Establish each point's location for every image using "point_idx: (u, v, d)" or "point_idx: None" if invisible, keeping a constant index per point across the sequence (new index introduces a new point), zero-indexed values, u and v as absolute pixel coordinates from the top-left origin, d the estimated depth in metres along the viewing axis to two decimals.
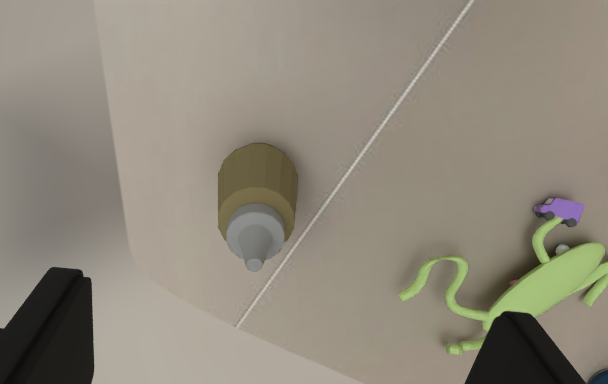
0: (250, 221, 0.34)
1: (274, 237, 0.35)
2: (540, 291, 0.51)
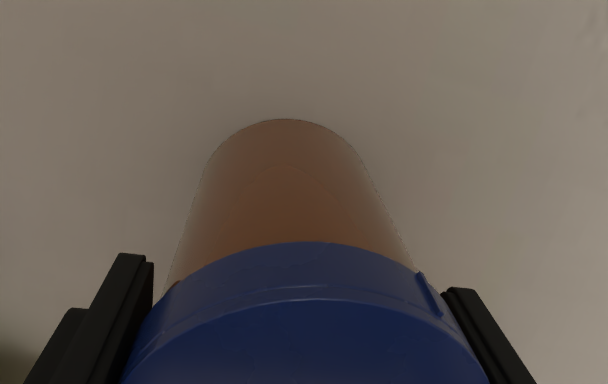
0: None
1: None
2: None
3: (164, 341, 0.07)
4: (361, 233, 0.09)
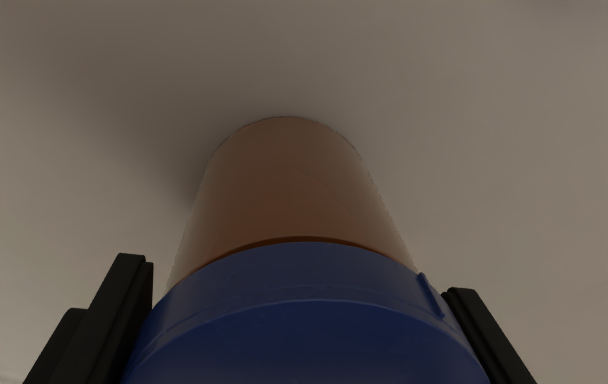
0: None
1: None
2: None
3: (166, 341, 0.07)
4: None
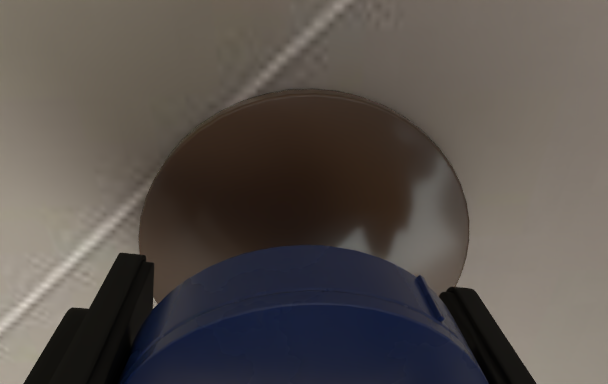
0: None
1: None
2: None
3: (163, 345, 0.07)
4: None
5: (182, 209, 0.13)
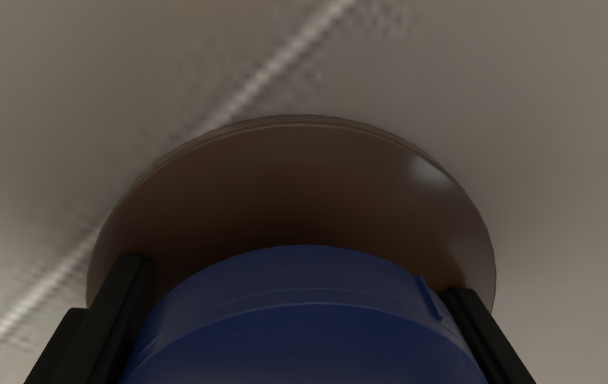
0: None
1: None
2: None
3: (162, 345, 0.07)
4: None
5: None
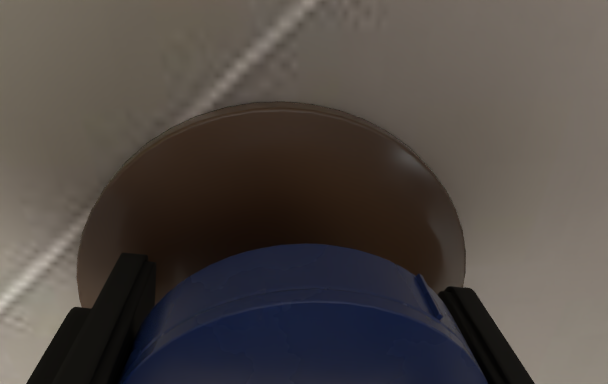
0: None
1: None
2: None
3: (163, 343, 0.07)
4: None
5: (127, 245, 0.11)
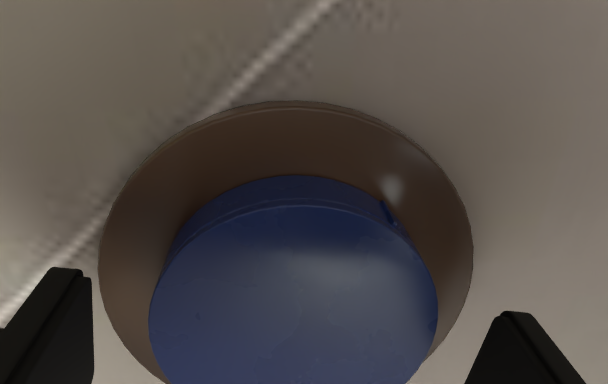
0: None
1: None
2: None
3: (195, 237, 0.09)
4: None
5: (147, 238, 0.11)
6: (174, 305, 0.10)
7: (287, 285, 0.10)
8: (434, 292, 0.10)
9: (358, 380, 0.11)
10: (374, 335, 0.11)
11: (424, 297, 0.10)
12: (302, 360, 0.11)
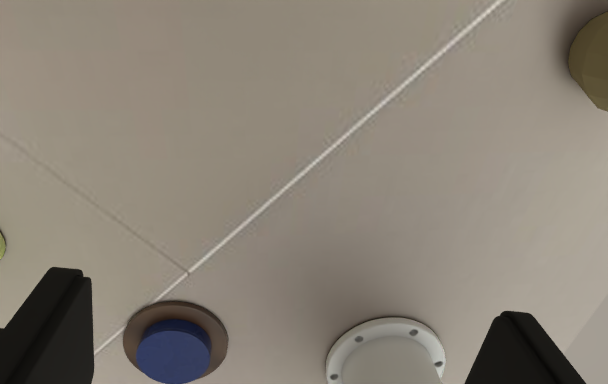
0: None
1: None
2: None
3: (146, 337, 0.41)
4: None
5: (135, 333, 0.42)
6: (142, 352, 0.41)
7: (169, 347, 0.41)
8: (206, 348, 0.42)
9: (192, 370, 0.43)
10: (193, 359, 0.42)
11: (204, 349, 0.42)
12: (175, 365, 0.42)
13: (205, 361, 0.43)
